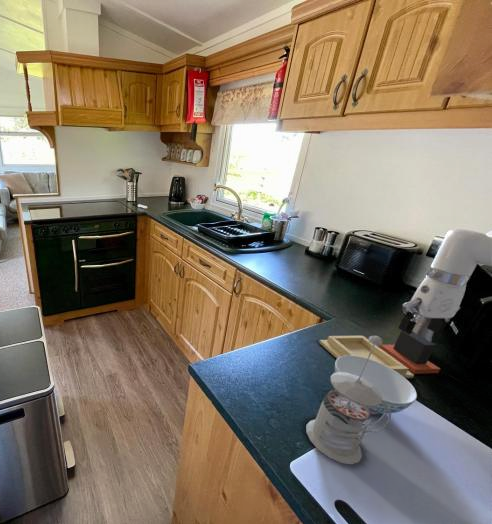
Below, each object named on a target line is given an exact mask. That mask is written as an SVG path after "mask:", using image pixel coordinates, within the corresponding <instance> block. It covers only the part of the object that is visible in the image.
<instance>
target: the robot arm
mask: <svg viewBox="0 0 492 524" xmlns="http://www.w3.org/2000/svg"><path fill="white" fill-rule="evenodd" d="M478 264H482V265H484V266H487V267H491V268H492V230H490V231H488V232H487V233H483V232H478V231H474V230H468V229H463V228H462V229H461V228H453V229H450V230H448V232H447V233H446V234H445V236H444V238H443V240H442V242H441V244H440V246H439V248H438V250H437V253H436V255H435V256H434V258H433V260H432V263H431V264H430V267H429V268H428V271H427V273H426V275H425V277H424V278H423V280H422V281H421V283H420V284H419V286H418V287H417V288H416V291H415V292H414V294H413V296H412V297H411V299H410V300H409V301H408V302H405V303H403V304H402V305H401V314H402V319H401V321H400V322H399V325H398V329H399V330H400V331H404V332H405V333H407V334H411V333H412V331H413V329H414V327H415V325H416V323H417V322H415V321H416V320H417V319H418V318H420V317H421V316H423V317H425V318H432V319H431V321H430V323H429V325H428V327H427V328H428V329H429V330H431V331H433V332H434V334H437V335H442V332H443V330H444V329H445V327H446V325H447V323H448V322H450V321H451V318H453V317H455V315H456V314H457V312H458V311H460V310H461V306H460V305H461V303H462V300H463V299H464V296H465V292H466V290H467V289H466V287H467V283H468V281H469V280H470V278H471V277H472V274H473V272H474V271H475V269H476V267H477V265H478ZM413 313H414V315H413Z"/></svg>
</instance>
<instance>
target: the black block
mask: <svg viewBox="0 0 492 524" xmlns="http://www.w3.org/2000/svg"><path fill="white" fill-rule="evenodd" d="M378 347H379V348H380V349H382V350H383V351H385V352H386V353H387V354H389V355H390V356H392V357H393V358H394V359H396V360H397V361H399V362H400V363H401V364H403V365H404V366H406V367H407V368H408V371H409V372H411V373H412V374H413V375H417V374H418V375H419V374H420V375H421V374H439V372H440V370H441V368H440V367H439V366H437V365H436V364H435V363H433V362H431V361H429V360H430V357H431V356H432V354H433V352H434V350H435V348H436V344H435V343H433V342H432V341H431V342H430V341H428V340H426V339H425V338H423V337H421V336H420V335H418V334H416V333H414V332H413V331H412V333H411V334H407V333H405V332H404V331H402V330H400V333H399V335H398V337H397V339H396V341H395V343H393V344H391V343H390V344H382V345H380V346H378Z"/></svg>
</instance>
